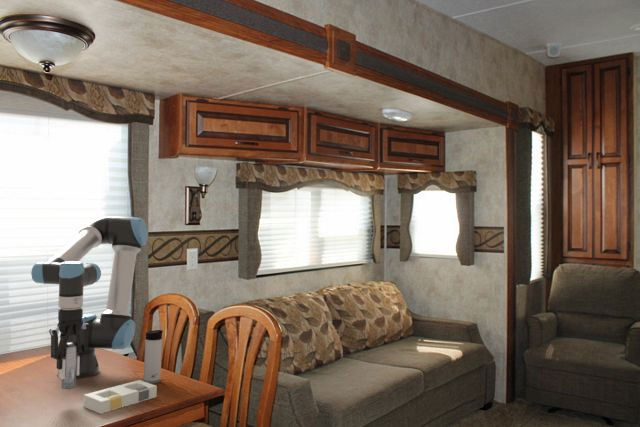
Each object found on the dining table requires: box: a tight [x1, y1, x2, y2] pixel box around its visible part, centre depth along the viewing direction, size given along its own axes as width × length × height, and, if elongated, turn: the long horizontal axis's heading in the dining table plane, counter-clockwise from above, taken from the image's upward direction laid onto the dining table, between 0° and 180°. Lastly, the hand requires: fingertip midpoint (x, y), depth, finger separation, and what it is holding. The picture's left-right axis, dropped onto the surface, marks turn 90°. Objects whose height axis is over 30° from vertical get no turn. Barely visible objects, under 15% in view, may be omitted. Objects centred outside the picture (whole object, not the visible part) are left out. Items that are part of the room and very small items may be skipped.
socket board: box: [83, 379, 158, 415], centre depth 191 cm, size 10×22×4 cm, turn 145°
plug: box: [61, 342, 77, 390], centre depth 186 cm, size 4×4×15 cm
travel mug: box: [143, 329, 164, 385], centre depth 214 cm, size 6×7×20 cm
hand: (68, 376), depth 186 cm, fingers closed on plug, 4 cm apart
